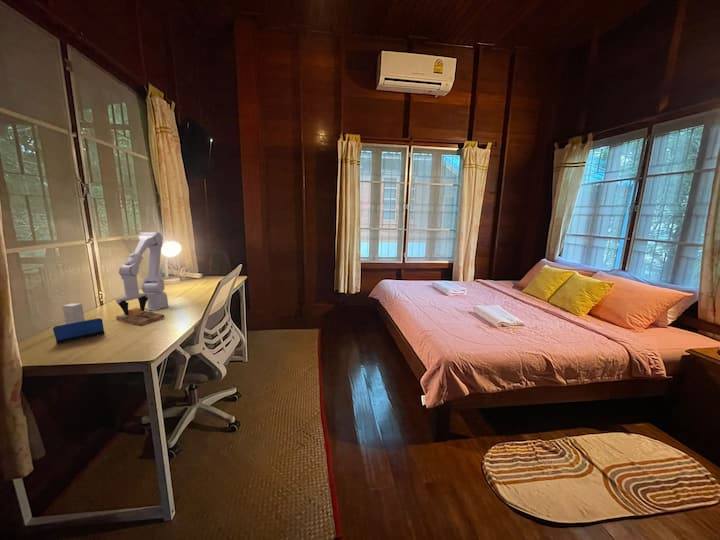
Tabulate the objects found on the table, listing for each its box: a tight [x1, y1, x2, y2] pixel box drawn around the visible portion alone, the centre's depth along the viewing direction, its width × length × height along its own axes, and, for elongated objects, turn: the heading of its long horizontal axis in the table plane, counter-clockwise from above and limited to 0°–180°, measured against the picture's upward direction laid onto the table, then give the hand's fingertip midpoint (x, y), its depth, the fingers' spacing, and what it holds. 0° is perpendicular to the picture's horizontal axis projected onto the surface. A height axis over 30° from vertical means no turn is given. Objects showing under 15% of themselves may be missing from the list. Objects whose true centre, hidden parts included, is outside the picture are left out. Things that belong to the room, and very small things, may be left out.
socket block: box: [115, 310, 165, 326], centre depth 158 cm, size 12×20×2 cm, turn 65°
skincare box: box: [61, 303, 86, 324], centre depth 144 cm, size 6×4×12 cm
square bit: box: [128, 307, 141, 317], centre depth 160 cm, size 4×4×5 cm
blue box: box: [52, 317, 105, 345], centre depth 134 cm, size 16×13×9 cm
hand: (134, 312), depth 160 cm, fingers open, 7 cm apart
